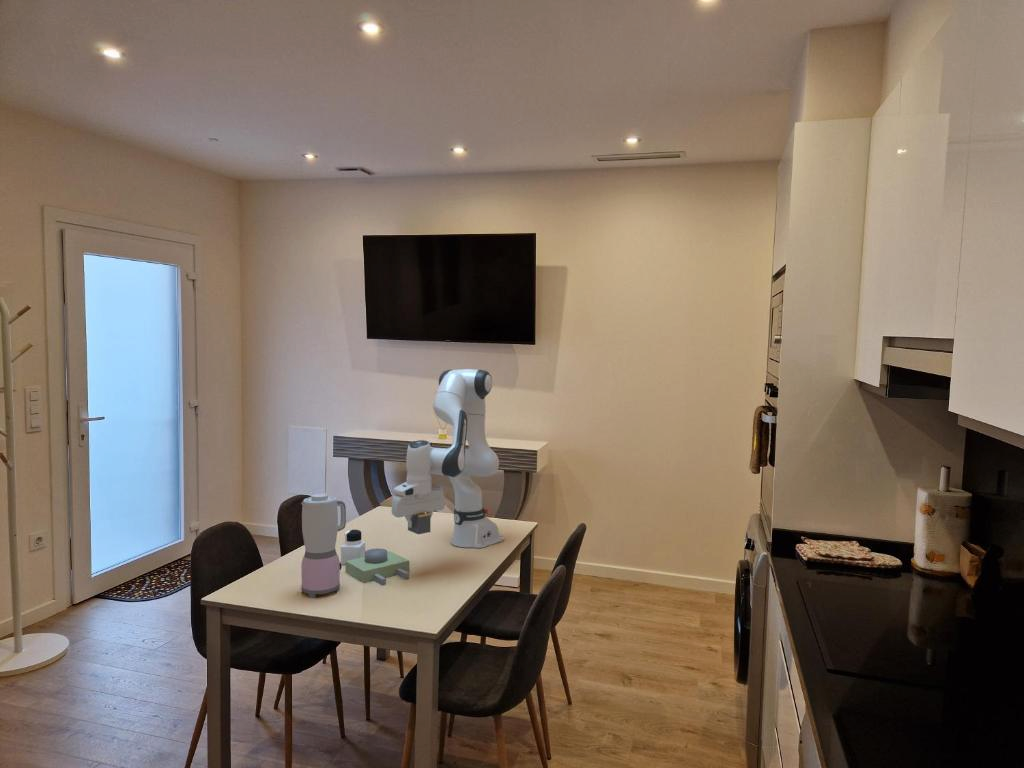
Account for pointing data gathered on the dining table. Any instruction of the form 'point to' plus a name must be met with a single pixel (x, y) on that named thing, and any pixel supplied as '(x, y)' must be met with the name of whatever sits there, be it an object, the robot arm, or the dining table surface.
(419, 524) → the grey block yellow strip
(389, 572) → the green piece
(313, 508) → the blender
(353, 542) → the medicine bottle
